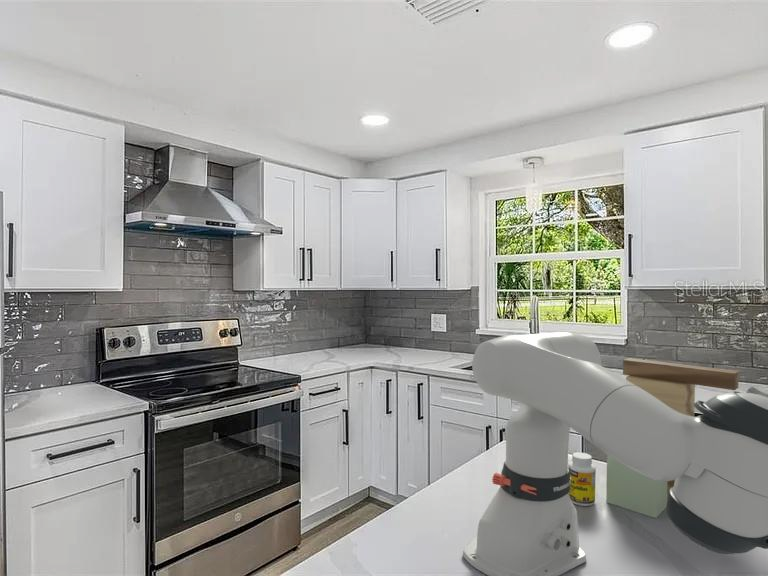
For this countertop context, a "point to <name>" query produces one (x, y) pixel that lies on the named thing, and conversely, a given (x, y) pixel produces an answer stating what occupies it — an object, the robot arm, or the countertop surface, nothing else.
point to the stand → (669, 397)
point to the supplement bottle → (582, 479)
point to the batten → (682, 373)
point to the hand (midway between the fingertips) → (744, 392)
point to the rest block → (634, 490)
